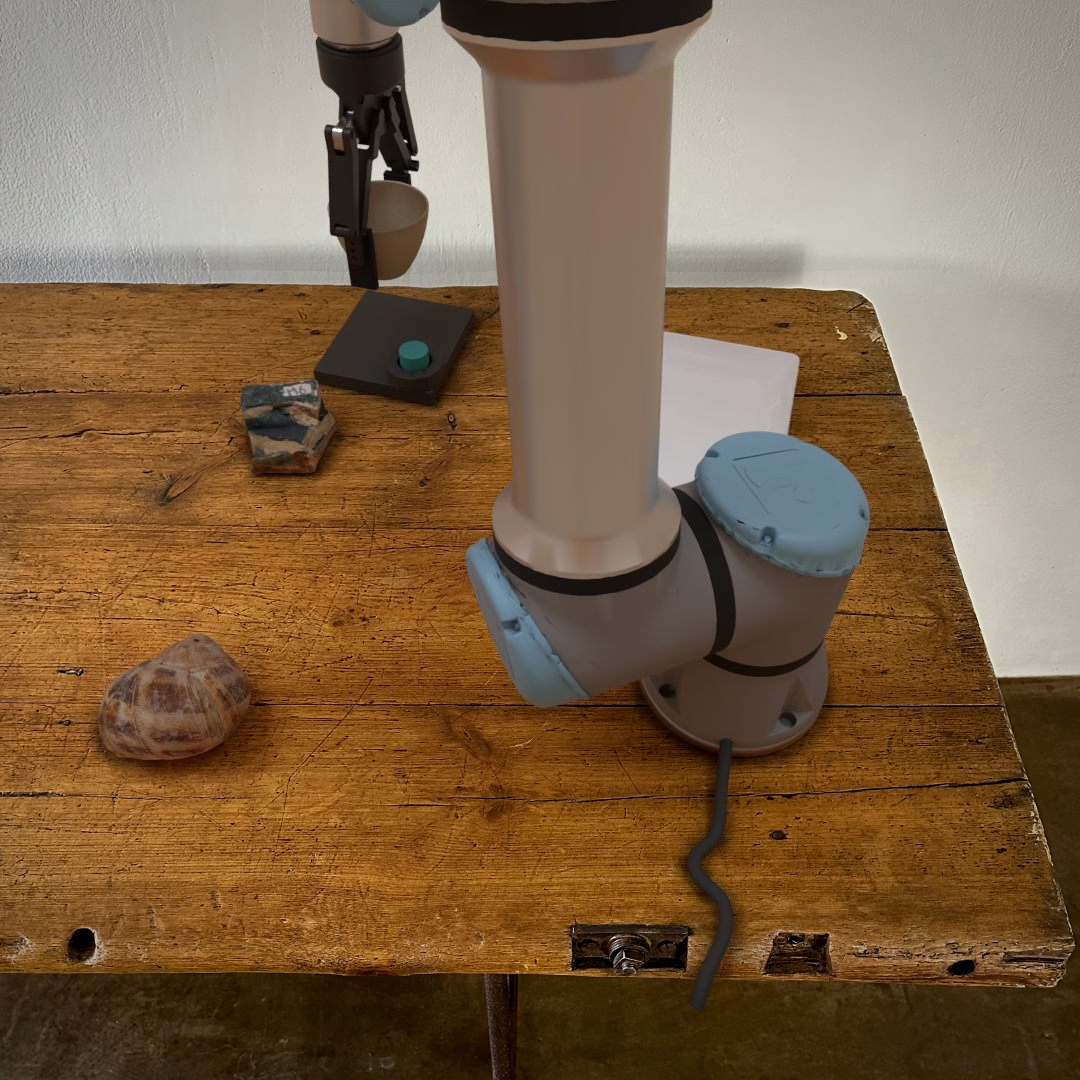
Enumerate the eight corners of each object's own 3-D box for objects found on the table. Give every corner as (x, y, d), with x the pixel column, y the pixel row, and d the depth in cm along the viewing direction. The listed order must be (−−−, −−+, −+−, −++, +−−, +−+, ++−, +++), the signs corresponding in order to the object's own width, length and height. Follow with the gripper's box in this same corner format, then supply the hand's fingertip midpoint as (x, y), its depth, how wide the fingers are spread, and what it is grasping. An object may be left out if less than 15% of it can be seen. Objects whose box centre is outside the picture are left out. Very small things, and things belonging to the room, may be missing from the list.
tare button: (423, 374, 99) (422, 361, 98) (396, 369, 100) (394, 355, 99) (433, 356, 101) (432, 343, 100) (406, 351, 102) (404, 338, 100)
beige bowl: (418, 301, 98) (412, 238, 93) (323, 288, 99) (312, 225, 94) (444, 247, 105) (440, 185, 99) (355, 235, 106) (346, 173, 100)
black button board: (434, 409, 101) (432, 383, 98) (313, 385, 103) (308, 359, 100) (479, 322, 110) (478, 296, 108) (368, 301, 112) (364, 276, 110)
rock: (251, 482, 93) (238, 439, 89) (250, 417, 99) (238, 374, 95) (341, 472, 94) (333, 428, 90) (336, 408, 100) (328, 364, 96)
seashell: (186, 631, 81) (201, 601, 72) (258, 713, 81) (282, 692, 73) (74, 716, 75) (77, 694, 67) (153, 802, 76) (165, 792, 67)
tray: (569, 559, 88) (571, 533, 85) (642, 349, 108) (645, 324, 105) (756, 602, 85) (764, 577, 82) (795, 379, 105) (802, 353, 102)
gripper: (348, 96, 76) (378, 327, 93) (441, -10, 91) (453, 207, 108) (260, 83, 78) (306, 314, 94) (366, -20, 92) (389, 196, 109)
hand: (384, 257), depth 101 cm, fingers closed on beige bowl, 10 cm apart
